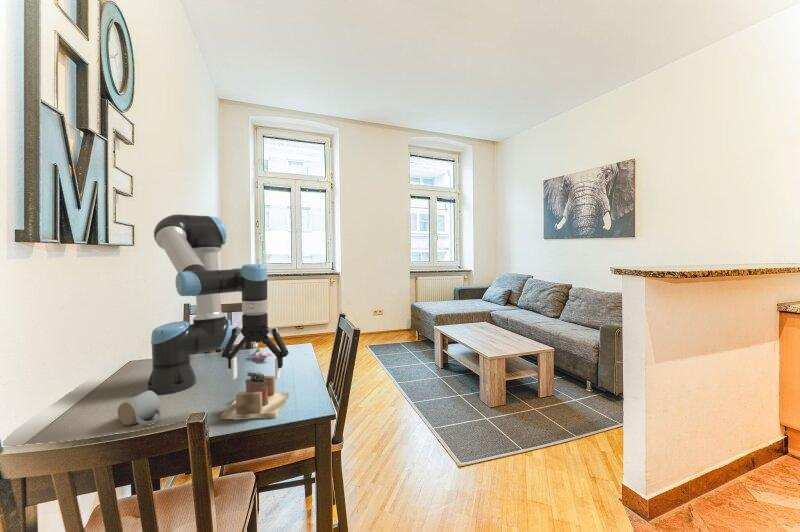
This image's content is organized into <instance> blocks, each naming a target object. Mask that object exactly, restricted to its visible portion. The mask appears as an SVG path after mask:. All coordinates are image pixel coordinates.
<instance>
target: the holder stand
mask: <svg viewBox="0 0 800 532" xmlns="http://www.w3.org/2000/svg"><path fill="white" fill-rule="evenodd" d="M264 379H265V380H268V384H267V390H268V405H266V406H262V391H261V392H246V391H239V392H237V393H236V394H235V400H234V401H232V403H231V404H230V405H229V406H228V407H227V408H226V409H225V411H223V413H221V414H220V416H221V417H220V420H221V419H233V420H235V419H234V418H263V419H276V418H277V417H278V415H279V414H280V412H281V410H282V409H283V407H284V406H285V403H286V402H287V401H288V399H289V397H290V396H289V395H290V394H289V392H276V379H275V375H264Z"/></svg>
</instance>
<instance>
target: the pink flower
mask: <svg viewBox="0 0 800 532" xmlns="http://www.w3.org/2000/svg"><path fill="white" fill-rule="evenodd" d="M247 357H248V358H250V359H252V360H254V359H257V361H264V360H266V359H267V358H271V357H274V354H273V353H272V352H266V351H261V348H260V347H256V350H255V351H254V352H253V353H251V354H248V356H247Z"/></svg>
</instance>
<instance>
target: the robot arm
mask: <svg viewBox="0 0 800 532" xmlns="http://www.w3.org/2000/svg"><path fill="white" fill-rule="evenodd" d="M153 238H154V241H155V243H156V244H157V246H158V247H159V248H161V249H163V251H164V252H165V253H166V255H167V256H168V257H167V258H169V261H170V262H171V264H172V266H173V267H174V268H175V271H176V272H177V275H176V277H175V288H176V292H177V294H178V295H179V296H181V297H195V301H196V314H195V316H194V317H193V318H192V323H189V322H188V321H186V320H182V321H181V320H180V321H174V322H169V323H166V324H162V325H159V326H156V328H154V329H153V330H152V332H151V338H150V339H151V341H150V344H151V357H152V358H151V361H152V362H151V363H152V370H151V372H150V375H149V379H148V381H147V385H146V386H147V390H146V391H153V392H154V393H155V394H156V395H167V394H173V393H176V392H181V391H185V390H187V389H189V388H191V387H193V386H195V384H196V383H197V376H196V374H195V372H194V371H195V370H194V369H193V367H192V365H191V361H190V359H191V358H190V357H191V356H193V355H196V354H197V355H198V354H202V353H207V352H211V351H218V350H220V349H223V351H222V354H221V355H220V356H221V357H222V358H226V359H227V363H228V364H227V367H228V370H230V373H231V374H230V375H231V376H230V378H231V379H230V380H231V381H235V379H237V378H238V356H236V355H237V353H239V351H240V350H241V349H242V348H243V346H244V345H245V344H246V343H247V342H249V343H261V342H262V344H264V345H265V346H266V348H268V350H269V351H270V352H271V353H272V354H273V356H275V357H276V358H274V376H275V380H279V378H281V369H282V368H283V366H284V361H283V360H284V358H286V357H287V356H288V355H289V353H290V352H289V350H288V348H287V346H286V344H285V343H284V340H283V339H282V337H281V335H280V333H279V327H278V326H274V327H273V328H272V327H271V328H269V320H268V318H269V317H268V315H269V314H268V312H267V311H268V278H269V275H268V272H267V271H268V268H267V266H266V265H265V264H259V263H253V264H252V263H251V264H243V265H242V266H241V267H240V268H231V269H220V268H219V267H220V266H219V255H218V254H219V252H221V251H222V246H223V245H224V246H225V244H226V242H227V229H226V227H225V224H224V222H223V221H222V219H221V218H219V217H217V216H209V215H196V214H195V215H193V214H192V215H191V214H181V213H180V214H172V215H167V216H166V217H164V218H162V219H161V220H160V221H159V222H158V223H156V225H155V228H154V231H153ZM239 292H240V293H241V312H242V313H243V314H242V315H241V321H242V322H241V324H242V326H241V327H240V328H239V326H235V327H233V325H232V321H231V319H228V318H227V315H226V314H225V313H224V312H223V311H222V302H221V299H222V298H221V294H226V293H227V294H229V293H239ZM269 333H270V335H271V336H272V337H273V340H274V341H275V343H276V344H275V343H274V341H272V340H271V338H270V336H269V335H268V334H269ZM240 334H241V335H242V336H243V337H242V339H241V340H240V341H239V342H238V344H237V345H236V346H235V347H234V349H233V350H232V348H233V345H234V344H235V342H236V340H237V338H238V336H239V335H240Z"/></svg>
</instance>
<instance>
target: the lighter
mask: <svg viewBox="0 0 800 532" xmlns="http://www.w3.org/2000/svg"><path fill="white" fill-rule="evenodd" d="M246 373H247V374H246V375H247V377H248V378H245V380H244V382H245V392H261V391H262V406H266V405H268V390H267V384H268V380H265V379H264V376H265V374H264V373H261V372H260V371H257V372H254V371H248V372H246Z"/></svg>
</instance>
